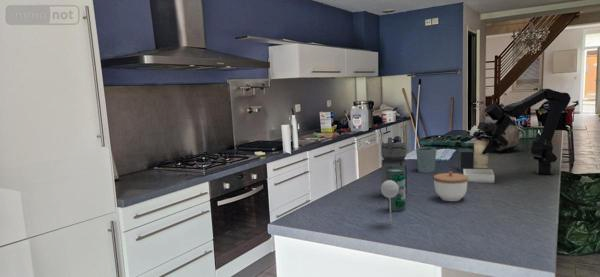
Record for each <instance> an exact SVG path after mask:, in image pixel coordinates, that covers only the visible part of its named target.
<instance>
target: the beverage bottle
mask: <svg viewBox="0 0 600 277" xmlns="http://www.w3.org/2000/svg"><path fill="white" fill-rule="evenodd" d="M380 145H381V148H380V150H381V151H380V153H381V154H380V155H381V157H382V160H381V182H382V183H381V185H382V184H383V183H384V182H385V181H387V170H388V169H391V168H401V169H404V170H405V196H406V195H407V193H408V172H407V171H408V169H407V166H408V165H407V162H408V161H407V159H405V158H406V157H407V155H408V154H407V153H408V150H407V144H406V142H402V138H401V137H400V136H399V135H397V136H394V138H392V137H387V142H384V141H382V142H381V144H380Z"/></svg>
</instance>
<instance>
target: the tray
mask: <svg viewBox="0 0 600 277" xmlns="http://www.w3.org/2000/svg"><path fill="white" fill-rule="evenodd" d="M462 174H463V175H466V176H467V177H468V180H467V183H477V184H478V183H481V184H485V183H486V184H495V173H494V171H493V169H489V168H488V169H486V168H473V169H463V172H462Z"/></svg>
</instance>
